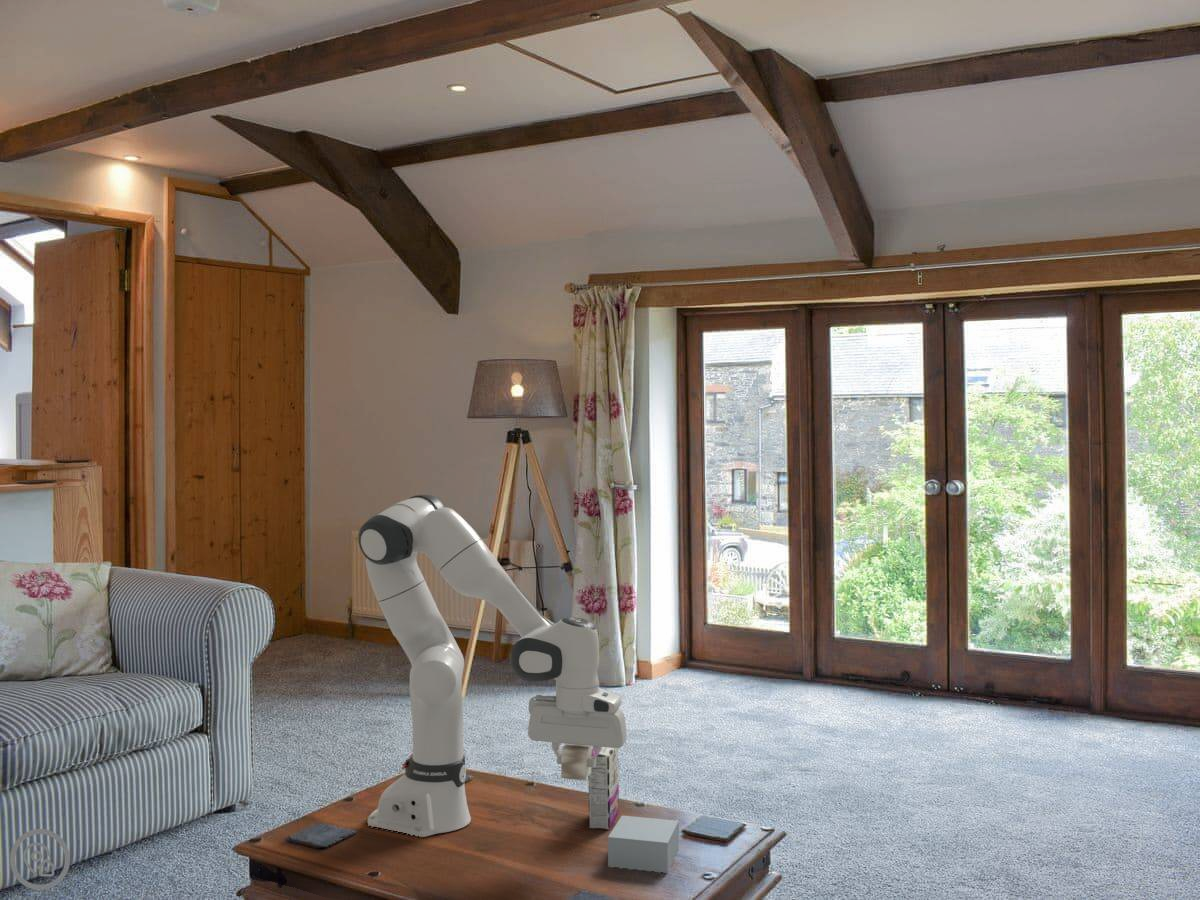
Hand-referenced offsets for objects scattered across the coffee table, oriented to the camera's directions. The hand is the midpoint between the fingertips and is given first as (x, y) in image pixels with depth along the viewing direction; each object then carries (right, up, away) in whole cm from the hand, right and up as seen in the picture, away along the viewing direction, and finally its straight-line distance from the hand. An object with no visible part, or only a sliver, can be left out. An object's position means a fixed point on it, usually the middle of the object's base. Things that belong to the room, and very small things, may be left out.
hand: (576, 765), depth 223 cm
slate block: (+14, -18, -3) cm, 23 cm away
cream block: (0, -2, 0) cm, 2 cm away
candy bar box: (+6, -18, +18) cm, 25 cm away
